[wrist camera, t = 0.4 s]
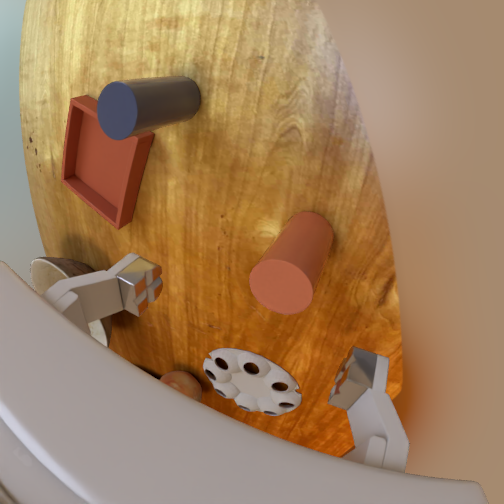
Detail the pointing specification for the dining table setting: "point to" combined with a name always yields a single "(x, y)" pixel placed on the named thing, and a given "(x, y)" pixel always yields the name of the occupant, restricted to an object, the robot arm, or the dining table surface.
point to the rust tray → (102, 163)
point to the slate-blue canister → (146, 105)
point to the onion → (183, 384)
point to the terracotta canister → (293, 264)
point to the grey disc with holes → (252, 382)
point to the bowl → (56, 269)
